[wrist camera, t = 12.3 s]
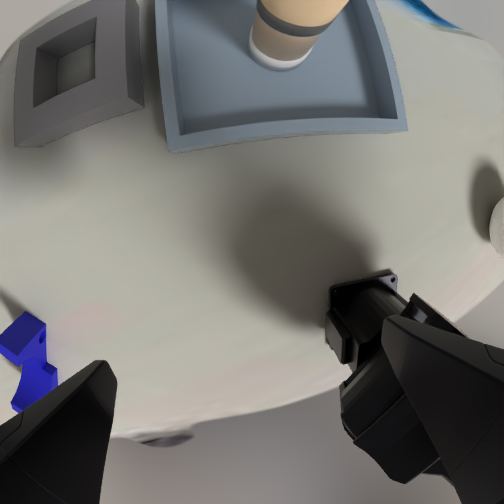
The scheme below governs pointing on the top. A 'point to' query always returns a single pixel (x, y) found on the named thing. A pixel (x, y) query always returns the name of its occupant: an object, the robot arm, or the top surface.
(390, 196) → the top surface
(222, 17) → the parts tray
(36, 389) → the blue angular block
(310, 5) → the fuse
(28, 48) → the fuse holder
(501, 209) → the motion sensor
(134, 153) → the top surface
